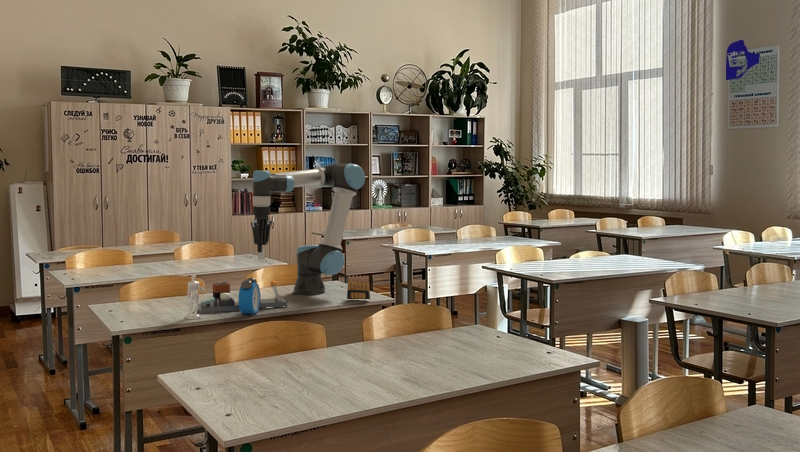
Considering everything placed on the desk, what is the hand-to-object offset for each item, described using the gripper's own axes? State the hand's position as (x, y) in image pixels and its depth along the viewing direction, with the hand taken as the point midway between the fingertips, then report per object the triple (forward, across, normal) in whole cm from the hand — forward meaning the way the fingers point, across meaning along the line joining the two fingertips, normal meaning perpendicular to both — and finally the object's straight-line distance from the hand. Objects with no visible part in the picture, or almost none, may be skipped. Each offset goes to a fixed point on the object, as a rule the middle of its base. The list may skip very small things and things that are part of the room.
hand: (261, 259), depth 323 cm
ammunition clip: (+21, -31, +32) cm, 49 cm away
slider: (+19, -1, -2) cm, 19 cm away
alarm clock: (+22, +13, +3) cm, 25 cm away
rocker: (+18, +16, -16) cm, 29 cm away
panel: (+21, +5, -6) cm, 23 cm away
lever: (+19, -6, +5) cm, 20 cm away
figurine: (+22, +28, -13) cm, 38 cm away
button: (+18, +10, -11) cm, 23 cm away
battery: (+22, +1, -20) cm, 30 cm away
